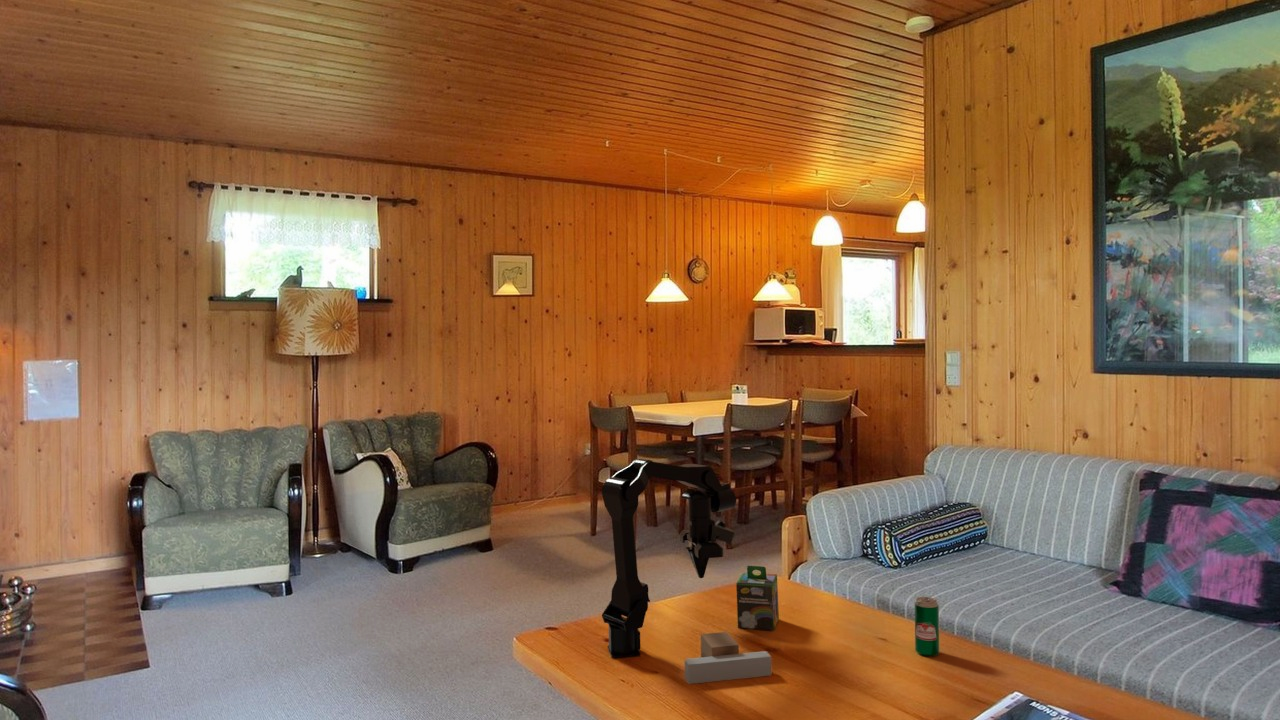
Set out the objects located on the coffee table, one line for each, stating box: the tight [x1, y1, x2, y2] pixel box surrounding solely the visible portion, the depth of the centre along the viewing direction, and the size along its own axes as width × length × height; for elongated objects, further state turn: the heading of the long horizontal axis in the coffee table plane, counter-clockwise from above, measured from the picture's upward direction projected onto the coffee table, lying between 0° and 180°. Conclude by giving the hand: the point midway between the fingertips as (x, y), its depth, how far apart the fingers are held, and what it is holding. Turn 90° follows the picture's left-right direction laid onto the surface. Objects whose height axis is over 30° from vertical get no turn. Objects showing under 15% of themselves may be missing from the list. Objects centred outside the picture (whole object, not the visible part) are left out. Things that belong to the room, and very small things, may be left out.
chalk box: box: [735, 565, 780, 632], centre depth 195 cm, size 9×9×15 cm
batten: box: [684, 650, 772, 685], centre depth 164 cm, size 18×3×4 cm, turn 101°
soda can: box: [914, 596, 940, 657], centre depth 174 cm, size 5×5×12 cm
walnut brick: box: [700, 631, 740, 658], centre depth 169 cm, size 6×8×6 cm
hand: (701, 577), depth 194 cm, fingers closed
